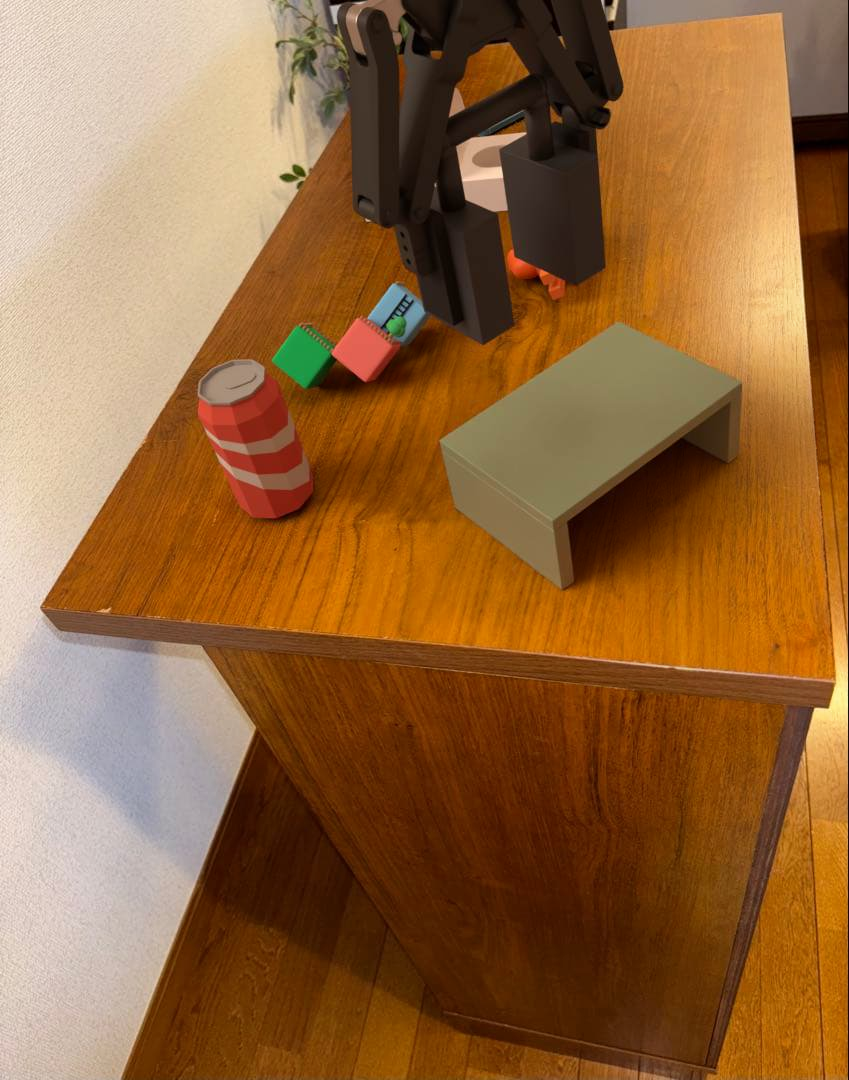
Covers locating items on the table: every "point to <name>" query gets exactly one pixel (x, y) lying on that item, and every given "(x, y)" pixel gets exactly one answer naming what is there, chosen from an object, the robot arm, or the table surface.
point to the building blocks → (355, 341)
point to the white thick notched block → (482, 165)
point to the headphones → (518, 208)
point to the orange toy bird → (529, 272)
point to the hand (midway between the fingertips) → (512, 273)
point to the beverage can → (254, 438)
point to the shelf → (583, 439)
